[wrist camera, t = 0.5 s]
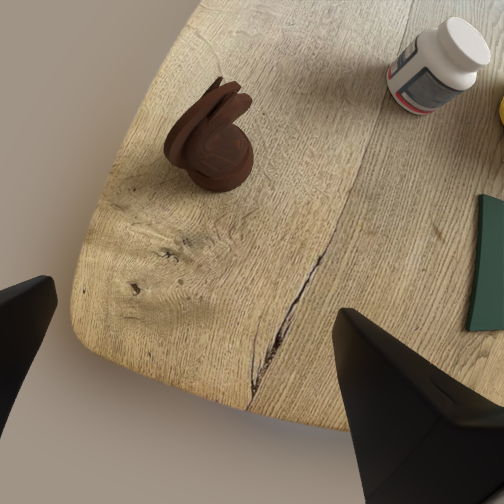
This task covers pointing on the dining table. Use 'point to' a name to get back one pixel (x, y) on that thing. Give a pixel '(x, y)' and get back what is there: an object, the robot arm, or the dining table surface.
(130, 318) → the dining table surface
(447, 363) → the dining table surface
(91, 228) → the dining table surface
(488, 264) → the play mat
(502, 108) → the teapot
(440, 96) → the pill bottle
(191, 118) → the chess piece
